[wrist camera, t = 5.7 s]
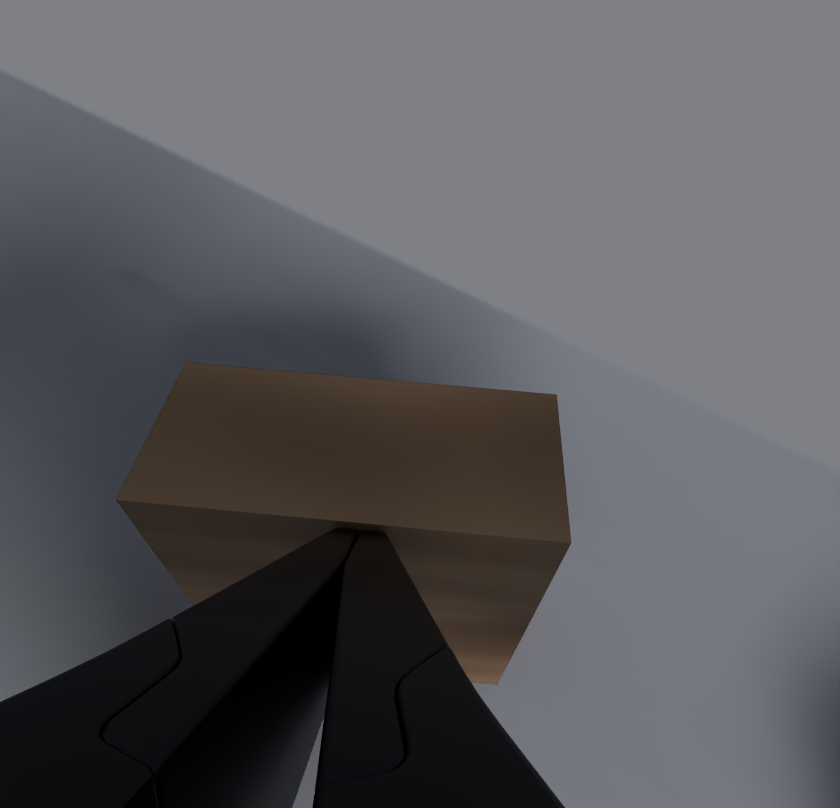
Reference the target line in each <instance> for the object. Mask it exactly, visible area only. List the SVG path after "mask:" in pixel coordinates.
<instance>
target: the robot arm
mask: <svg viewBox="0 0 840 808" xmlns="http://www.w3.org/2000/svg"><path fill="white" fill-rule="evenodd" d="M324 714H325V715H324ZM323 717H324V723H323V731H322V739H321V747H320V755H319V762H318V770H317V778H316V786H315V795H314V800H313V808H565V807H564V806H563V804H562V803H561V802H560V800H559V799H558V798H557V797H556V795H555V794H554V793H553V791H552V790H551V789H550V788H549V786H548V785H547V784H546V782H545V781H544V780H543V779H542V777H541V776H540V775H539V773H538V772H537V771H536V770H535V768H534V767H533V766H532V764H531V763H530V762H529V760H528V759H527V758H526V757H525V755H524V754H523V753H522V751H521V750H520V749H519V748H518V746H517V745H516V744H515V742H514V741H513V740H512V739H511V737H510V736H509V735H508V733H507V732H506V731H505V730H504V728H503V727H502V726H501V724H500V723H499V722H498V720H497V719H496V717H495V716H494V715H493V713H492V712H491V711H490V709H489V708H488V707H487V705H486V704H485V702H484V701H483V700H482V698H481V697H480V696H479V694H478V693H477V691H476V689H475V688H474V686H473V685H472V683H471V681H470V680H469V678H468V677H467V675H466V673H465V672H464V670H463V669H462V667H461V665H460V663H459V662H458V660H457V658H456V656H455V654H454V653H453V651H452V649H451V648H450V647H449V646H448V643H447V642H446V640H445V638H444V636H443V635H442V633H441V631H440V629H439V627H438V626H437V624H436V622H435V620H434V619H433V617H432V615H431V613H430V611H429V610H428V608H427V606H426V604H425V602H424V601H423V599H422V597H421V595H420V594H419V592H418V590H417V588H416V586H415V585H414V583H413V581H412V579H411V577H410V576H409V574H408V572H407V570H406V569H405V567H404V565H403V563H402V561H401V560H400V558H399V556H398V554H397V552H396V551H395V549H394V547H393V545H392V544H391V542H390V540H389V538H388V536H387V535H386V534H385V533H384V532H378V531H367V530H363V531H361V532H360V533H359V531H357V530H355V529H346V528H334V529H331V530H330V531H328V532H326V533H324V534H322V535H321V536H319V537H317V538H315V539H313V540H312V541H310V542H308V543H306V544H304V545H303V546H301V547H299V548H297V549H295V550H294V551H292V552H290V553H288V554H286V555H285V556H283V557H281V558H279V559H277V560H276V561H274V562H272V563H270V564H268V565H266V566H265V567H263V568H261V569H259V570H257V571H256V572H254V573H252V574H250V575H248V576H247V577H245V578H243V579H241V580H239V581H238V582H236V583H234V584H232V585H230V586H229V587H227V588H225V589H223V590H221V591H220V592H218V593H216V594H214V595H212V596H210V597H209V598H207V599H205V600H203V601H201V602H200V603H198V604H196V605H194V606H192V607H191V608H189V609H187V610H185V611H183V612H182V613H180V614H178V615H176V616H174V617H173V619H172V620H170V619H167V620H165V621H163V622H161V623H160V624H158V625H156V626H154V627H152V628H151V629H149V630H147V631H145V632H143V633H141V634H140V635H138V636H136V637H134V638H132V639H130V640H128V641H126V642H124V643H122V644H120V645H119V646H117V647H115V648H113V649H111V650H109V651H107V652H105V653H103V654H101V655H99V656H97V657H95V658H93V659H91V660H89V661H87V662H85V663H83V664H80V665H78V666H76V667H74V668H72V669H70V670H68V671H66V672H64V673H62V674H60V675H58V676H55V677H53V678H51V679H49V680H47V681H45V682H43V683H40V684H38V685H36V686H34V687H32V688H30V689H27V690H25V691H23V692H21V693H19V694H17V695H14V696H12V697H10V698H8V699H6V700H4V701H1V702H0V808H292V806H293V803H294V801H295V798H296V795H297V792H298V789H299V786H300V783H301V780H302V778H303V775H304V772H305V769H306V766H307V763H308V760H309V757H310V754H311V752H312V749H313V746H314V743H315V740H316V737H317V734H318V731H319V729H320V726H321V723H322V720H323Z"/></svg>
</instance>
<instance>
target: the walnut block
mask: <svg viewBox="0 0 840 808" xmlns="http://www.w3.org/2000/svg"><path fill="white" fill-rule="evenodd" d="M116 501H117V502H118V503H119V505H120V506H121V507H122V509H123V510H124V511H125V513H126V514H127V516H128V517H129V518H130V520H131V521H132V522H133V524H134V525H135V526H136V528H137V529H138V531H139V532H140V533H141V535H142V536H143V537H144V539H145V540H146V541H147V543H148V544H149V546H150V547H151V548H152V550H153V551H154V552H155V554H156V555H157V557H158V558H159V559H160V561H161V562H162V563H163V565H164V566H165V567H166V569H167V570H168V572H169V573H170V574H171V576H172V577H173V578H174V580H175V581H176V582H177V584H178V585H179V587H180V588H181V589H182V591H183V592H184V593H185V595H186V596H187V597H188V599H189V600H190V602H191V603H192V604H193V606H194V605H196V604H198V603H200V602H201V601H203V600H205V599H207V598H209V597H210V596H212V595H214V594H216V593H218V592H220V591H221V590H223V589H225V588H227V587H229V586H230V585H232V584H234V583H236V582H238V581H239V580H241V579H243V578H245V577H247V576H248V575H250V574H252V573H254V572H256V571H257V570H259V569H261V568H263V567H265V566H266V565H268V564H270V563H272V562H274V561H276V560H277V559H279V558H281V557H283V556H285V555H286V554H288V553H290V552H292V551H294V550H295V549H297V548H299V547H301V546H303V545H304V544H306V543H308V542H310V541H312V540H313V539H315V538H317V537H319V536H321V535H322V534H324V533H326V532H328V531H330V530H331V529H334V528H346V529H355V530H357V531H359V533H360V532H361V531H363V530H367V531H378V532H384V533H385V534H386V535H387V536H388V538H389V540H390V542H391V544H392V545H393V547H394V549H395V551H396V552H397V554H398V556H399V558H400V560H401V561H402V563H403V565H404V567H405V569H406V570H407V572H408V574H409V576H410V577H411V579H412V581H413V583H414V585H415V586H416V588H417V590H418V592H419V594H420V595H421V597H422V599H423V601H424V602H425V604H426V606H427V608H428V610H429V611H430V613H431V615H432V617H433V619H434V620H435V622H436V624H437V626H438V627H439V629H440V631H441V633H442V635H443V636H444V638H445V640H446V642H447V643H448V646H449V647H450V648H451V649H452V651H453V653H454V654H455V656H456V658H457V660H458V662H459V663H460V665H461V667H462V669H463V670H464V672H465V673H466V675H467V677H468V678H469V680H470V681H471V682H476V683H485V684H495V685H497V684H498V682H499V680H500V678H501V676H502V674H503V672H504V671H505V669H506V667H507V665H508V663H509V661H510V659H511V657H512V655H513V653H514V651H515V649H516V648H517V646H518V644H519V642H520V640H521V638H522V636H523V634H524V632H525V630H526V628H527V627H528V625H529V623H530V621H531V619H532V617H533V615H534V613H535V611H536V609H537V607H538V605H539V604H540V602H541V600H542V598H543V596H544V594H545V592H546V590H547V588H548V586H549V584H550V582H551V581H552V579H553V577H554V575H555V573H556V571H557V569H558V567H559V565H560V563H561V561H562V560H563V558H564V556H565V554H566V552H567V550H568V548H569V546H570V544H571V536H570V526H569V516H568V506H567V496H566V485H565V475H564V465H563V455H562V445H561V435H560V425H559V414H558V404H557V395H555V394H543V393H532V392H520V391H509V390H497V389H486V388H474V387H463V386H451V385H440V384H428V383H417V382H405V381H393V380H382V379H370V378H359V377H347V376H336V375H324V374H313V373H301V372H290V371H278V370H267V369H255V368H244V367H232V366H221V365H209V364H198V363H185V365H184V367H183V369H182V371H181V373H180V375H179V377H178V379H177V381H176V383H175V385H174V387H173V389H172V391H171V393H170V394H169V396H168V398H167V400H166V402H165V404H164V406H163V408H162V410H161V412H160V414H159V416H158V418H157V420H156V422H155V424H154V426H153V428H152V430H151V432H150V434H149V436H148V438H147V440H146V442H145V444H144V446H143V448H142V450H141V452H140V454H139V455H138V457H137V459H136V461H135V463H134V465H133V467H132V469H131V471H130V473H129V475H128V477H127V479H126V481H125V483H124V485H123V487H122V489H121V491H120V493H119V495H118V497H117V499H116Z"/></svg>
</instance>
